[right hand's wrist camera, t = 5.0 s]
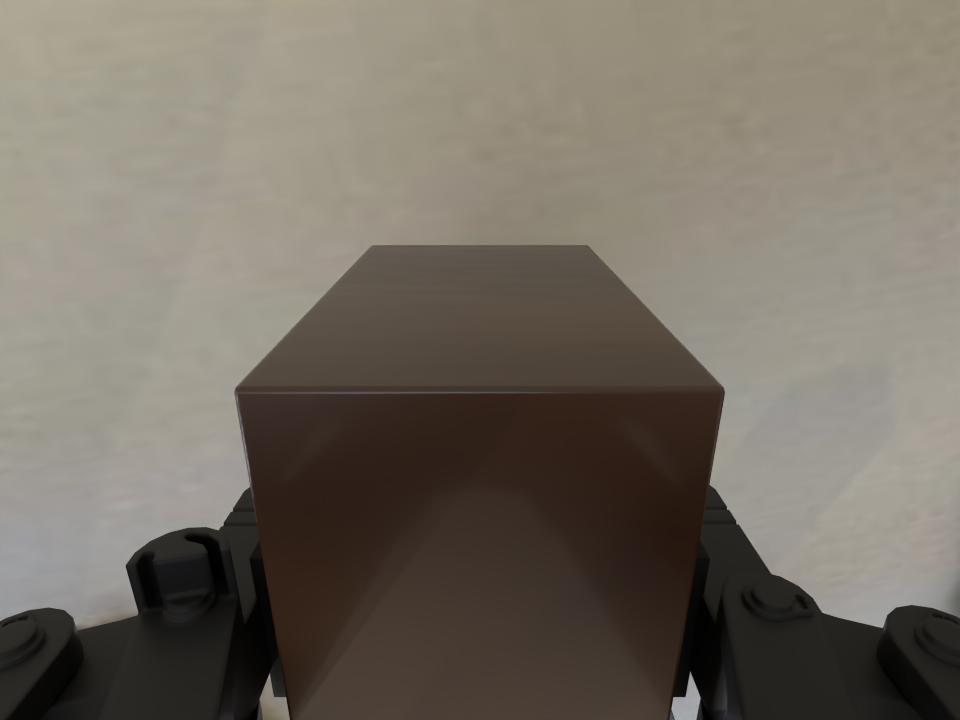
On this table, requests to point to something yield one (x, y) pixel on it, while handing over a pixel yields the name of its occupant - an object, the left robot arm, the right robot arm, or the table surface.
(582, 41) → the table surface
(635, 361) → the bar
